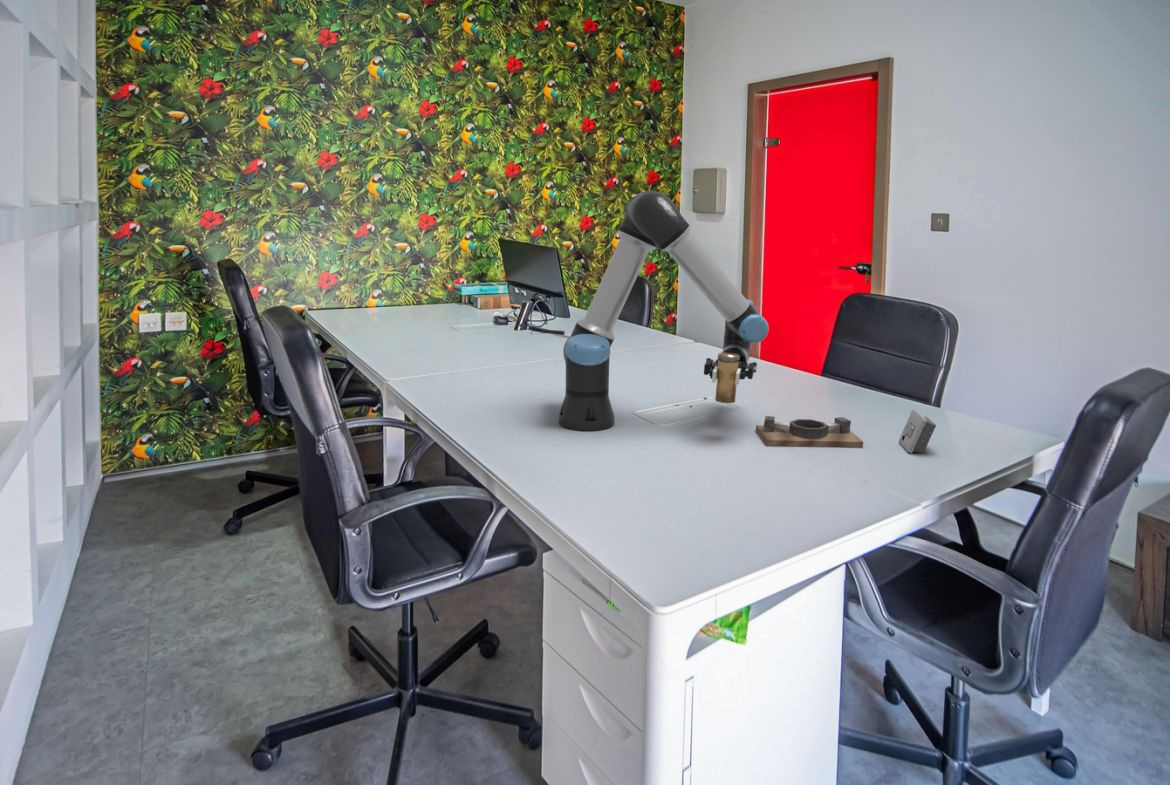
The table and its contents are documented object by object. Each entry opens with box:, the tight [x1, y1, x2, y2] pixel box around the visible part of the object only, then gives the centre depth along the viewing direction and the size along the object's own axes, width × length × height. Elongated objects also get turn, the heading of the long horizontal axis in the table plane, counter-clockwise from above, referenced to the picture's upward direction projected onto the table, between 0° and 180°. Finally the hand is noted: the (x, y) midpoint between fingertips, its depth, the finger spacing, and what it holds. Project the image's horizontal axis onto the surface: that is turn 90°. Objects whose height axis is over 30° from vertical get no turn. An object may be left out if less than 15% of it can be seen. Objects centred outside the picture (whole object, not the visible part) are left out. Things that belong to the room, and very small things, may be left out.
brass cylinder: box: [714, 352, 740, 404], centre depth 196 cm, size 5×5×12 cm
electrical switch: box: [898, 409, 937, 454], centre depth 192 cm, size 9×5×9 cm, turn 173°
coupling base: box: [755, 415, 864, 449], centre depth 199 cm, size 24×13×5 cm, turn 90°
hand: (725, 377), depth 191 cm, fingers closed on brass cylinder, 5 cm apart
